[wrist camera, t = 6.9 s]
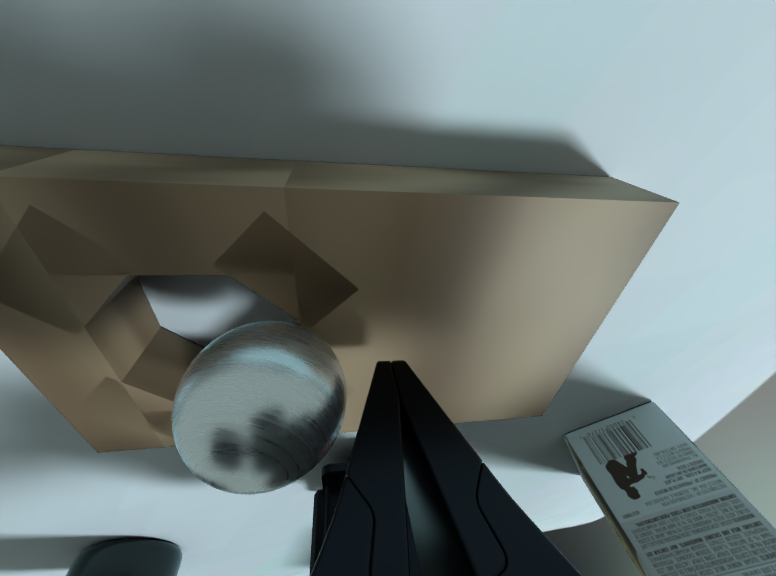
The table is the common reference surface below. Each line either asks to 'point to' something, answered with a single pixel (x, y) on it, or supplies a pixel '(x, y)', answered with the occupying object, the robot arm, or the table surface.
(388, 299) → the tan hexagonal hole board
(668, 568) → the coffee box
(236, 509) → the table surface
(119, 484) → the table surface
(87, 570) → the supplement bottle
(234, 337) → the ball
